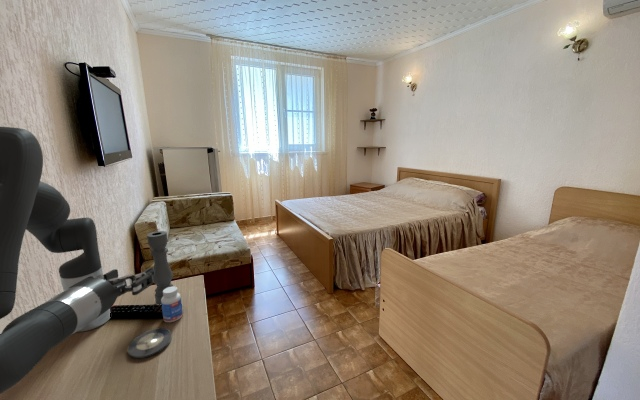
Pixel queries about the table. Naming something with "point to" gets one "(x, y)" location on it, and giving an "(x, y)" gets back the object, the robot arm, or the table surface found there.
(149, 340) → the small round plate
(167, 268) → the candle holder
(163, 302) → the pill bottle
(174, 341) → the table surface
